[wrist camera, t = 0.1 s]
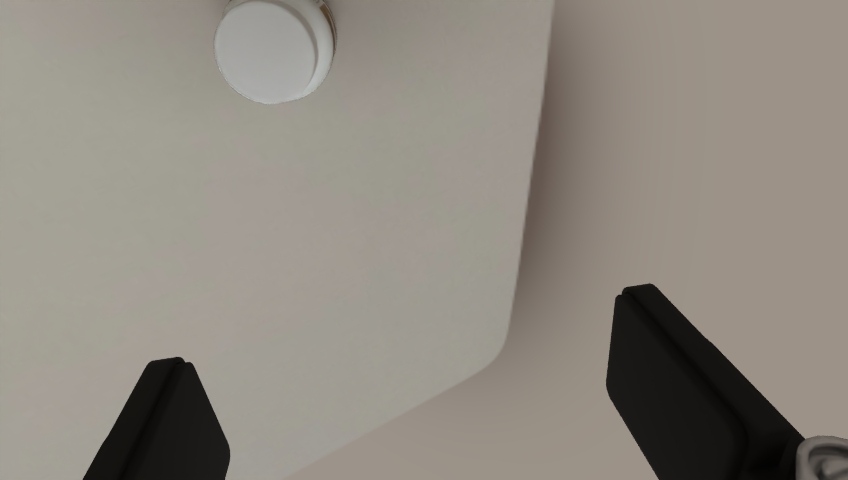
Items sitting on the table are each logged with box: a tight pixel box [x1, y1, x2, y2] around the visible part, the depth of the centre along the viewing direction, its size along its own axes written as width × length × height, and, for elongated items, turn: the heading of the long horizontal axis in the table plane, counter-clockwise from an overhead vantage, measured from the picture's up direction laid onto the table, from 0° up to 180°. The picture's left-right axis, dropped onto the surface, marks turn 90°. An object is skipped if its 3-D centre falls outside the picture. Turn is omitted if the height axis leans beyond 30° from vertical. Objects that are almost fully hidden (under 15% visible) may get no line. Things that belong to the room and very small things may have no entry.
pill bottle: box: [214, 0, 337, 104], centre depth 20 cm, size 4×4×8 cm
